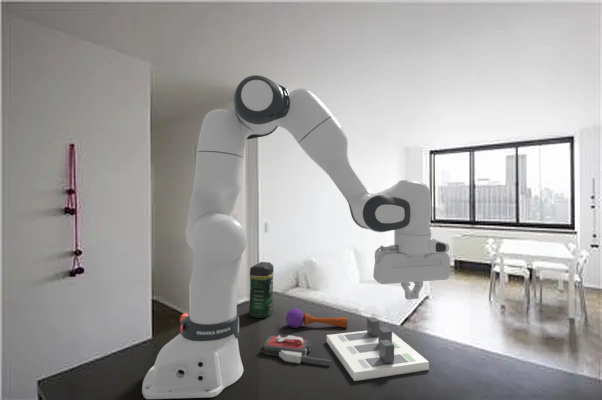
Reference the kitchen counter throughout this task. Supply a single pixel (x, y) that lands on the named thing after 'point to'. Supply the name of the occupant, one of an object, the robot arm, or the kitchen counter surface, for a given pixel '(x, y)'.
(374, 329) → the breaker left
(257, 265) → the coffee jar
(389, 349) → the block
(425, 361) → the breaker panel
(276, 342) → the walkie-talkie
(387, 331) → the block
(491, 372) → the kitchen counter surface
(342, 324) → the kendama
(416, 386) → the kitchen counter surface
